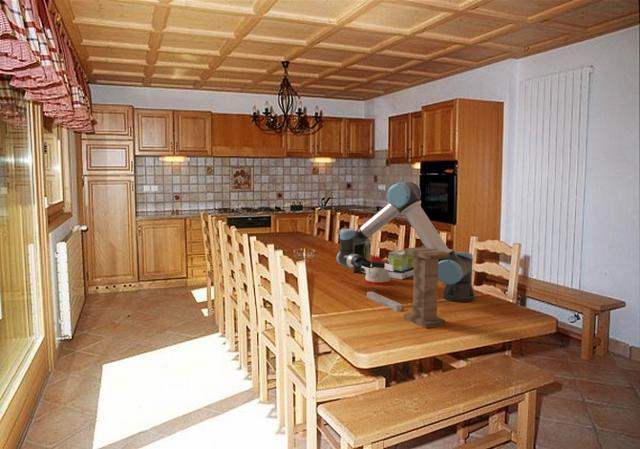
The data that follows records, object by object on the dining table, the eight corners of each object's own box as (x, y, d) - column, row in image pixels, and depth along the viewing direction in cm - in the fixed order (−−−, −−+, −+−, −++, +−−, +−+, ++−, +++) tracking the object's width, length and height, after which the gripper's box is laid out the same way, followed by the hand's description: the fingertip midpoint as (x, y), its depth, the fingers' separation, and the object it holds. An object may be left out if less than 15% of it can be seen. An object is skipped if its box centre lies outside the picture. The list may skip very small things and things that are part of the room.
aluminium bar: (401, 311, 218) (401, 304, 217) (396, 311, 216) (396, 305, 216) (371, 297, 240) (371, 291, 240) (366, 298, 239) (366, 292, 238)
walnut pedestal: (446, 325, 197) (449, 252, 194) (427, 329, 193) (430, 254, 189) (420, 314, 211) (423, 246, 208) (402, 317, 207) (404, 248, 203)
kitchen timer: (374, 278, 280) (374, 252, 278) (394, 281, 271) (395, 255, 269) (360, 282, 269) (360, 255, 267) (381, 286, 260) (381, 259, 258)
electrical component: (367, 274, 289) (367, 241, 287) (350, 273, 291) (350, 240, 289) (370, 268, 306) (370, 236, 304) (354, 267, 308) (354, 236, 306)
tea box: (402, 279, 275) (403, 254, 274) (387, 277, 281) (387, 252, 280) (414, 275, 287) (415, 250, 285) (399, 272, 293) (400, 248, 292)
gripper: (377, 267, 252) (402, 274, 233) (335, 272, 240) (359, 280, 222) (377, 252, 251) (402, 259, 233) (335, 257, 239) (359, 264, 221)
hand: (381, 269), depth 227 cm, fingers open, 13 cm apart
